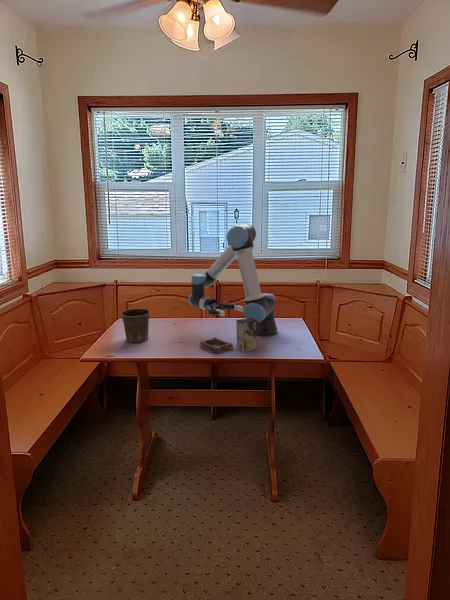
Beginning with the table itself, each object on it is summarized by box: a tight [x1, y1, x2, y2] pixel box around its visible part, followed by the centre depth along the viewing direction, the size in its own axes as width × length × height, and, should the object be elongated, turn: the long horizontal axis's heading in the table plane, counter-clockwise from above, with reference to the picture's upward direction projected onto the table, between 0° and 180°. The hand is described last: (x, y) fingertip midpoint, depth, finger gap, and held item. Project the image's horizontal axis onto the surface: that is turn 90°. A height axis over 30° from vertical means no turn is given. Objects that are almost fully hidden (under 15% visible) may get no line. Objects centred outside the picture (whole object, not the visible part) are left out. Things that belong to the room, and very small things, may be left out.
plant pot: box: [120, 308, 151, 344], centre depth 248 cm, size 16×16×16 cm
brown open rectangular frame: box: [199, 336, 234, 355], centre depth 234 cm, size 11×15×3 cm
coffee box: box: [235, 317, 258, 353], centre depth 231 cm, size 9×6×16 cm
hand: (233, 311), depth 236 cm, fingers open, 13 cm apart
